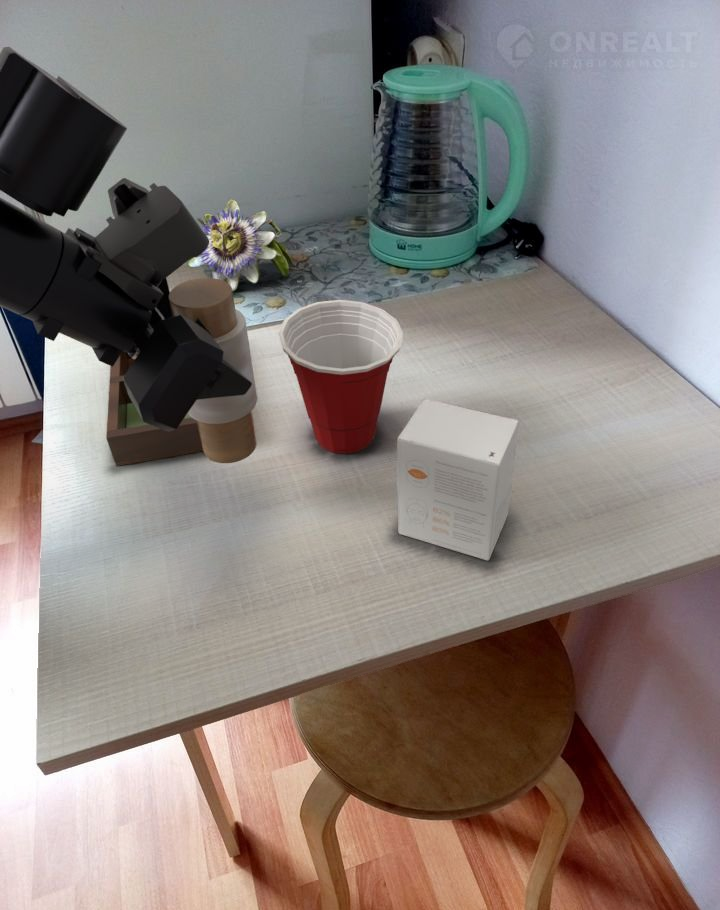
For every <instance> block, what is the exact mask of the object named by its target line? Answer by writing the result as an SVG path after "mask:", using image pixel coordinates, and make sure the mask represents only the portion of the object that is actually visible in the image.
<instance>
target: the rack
mask: <svg viewBox="0 0 720 910" xmlns="http://www.w3.org/2000/svg"><path fill="white" fill-rule="evenodd" d="M134 360H135V359H133V358H131V357H130V355H129V354H128V352H125V351H123V352H122V353H121V355H120V356H119V358H118V359H117V361H116V362H115V364H114V365H113V367H112V366H110V365H109V366H110V369H109V385H108V403H107V421H106V434H105V435H106V436H105V439H106V441H107V444H108V447H109V450H110V453H111V456H112V459H113V462H114V464H115V467H120V466H126V465H131V464H138V463H143V462H149V461H154V460H159V459H166V458H172V457H178V456H182V455H190V454H195V453H200V452H203V447H202V443H201V439H200V434H199V430H198V425H197V421H196V420H195V419H193V418H192V417H191V416H189V414H188V413H187V415H186V416H185V417H184V419H183V420H182V422H181V423H180V425H179V426H178V428H177V429H176V430H173V431H169V432H168V431H165V430H163V429H160V428H157V427H155V426H152V425H150V424H147V423H144V422H143V420H142V419H141V417H140V415H139V413H138V411H137V410H136V408H135V406H134V404H133V402H132V401H131V399H130V397H129V395H128V393H127V389H126V386H125V383H124V379H123V377H124V375H125V374H126V372H127V371H128V369H129V368H130V366H131V365H132V363H133V362H134Z"/></svg>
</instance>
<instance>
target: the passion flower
mask: <svg viewBox="0 0 720 910" xmlns="http://www.w3.org/2000/svg"><path fill="white" fill-rule="evenodd" d="M243 217H244V214H242V215H241V210H240V206H239V204H238V202H237V201H236V200H234V199H233V198H231V199H230V200H229V201H227V204H226V206H225V208H224V209H221V210H220V211H219V212H216V214H215V215H213V214H210V213H206V214H204V220H205V221H204V220H203V219H201V217H197V221H198V222H199V224H201V227H202V228H201V229H202V231H203V232H204V233H205V235H206V236H207V238H208V239H209V245H208V247H207V249H206V250H205V251H204V252H203V253H202V254H201V255H199V256H198V257H192V258H191V259H189V260H188V261H187V262H186V265H187V267H188V268H192V269H197V268H199V267H203V266H206V268H207V269H209V270H211V278H214V279H219V280H223V281H225V282H227V283H228V284H229V285H230V286H231V287H232V291H233V293H234V292H236V291H237V289H238V286H239V284H240V278H241V277H242V276H243V277H244V278H245V279H247V281H248V282H250V283H252V284H257V283H258V281H259V280H260V271H259V270H260V269H259V262H260V261H263V260H264V261H271V263H272V264H273V265H274V267H276V269H277V270H278V271H279V274H281V276H283V277H288V276H289V273H290V267H289V265H294V260H293V258H292V256H290V254H289V252H288V251H287V249H286V247H285V246H284V245H283V244H282V243H280V242H278V241H277V240H276V239H275V238H276V235H277V236H279V235H280V234H281V233H282V230H281V229H280V228H279V226H278V225H277V224H276V223H275V222H274V221H273V219H272V218H269V219H267V218H268V214H267V212H266V211H265V210H264V211H259V212H257V213H254V214H252V215H250V216H248V217H247V216H246V217H245V218H244V219H243ZM267 223H268V225H270V226H271V227H272V228H273V229H274V230H275V233H276V234H275V233H274V232H273V231H271V230H262V228H261V227H262V226H264V225H265V224H267ZM288 263H289V264H288Z"/></svg>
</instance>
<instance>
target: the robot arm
mask: <svg viewBox="0 0 720 910" xmlns="http://www.w3.org/2000/svg"><path fill="white" fill-rule="evenodd" d="M127 130H128V128H127V126H126V125H124V124H123V122H121V121H120V120H119V119H117V118H116V117H115V116H113V115H112V114H111V113H110V112H108V111H107V110H106V109H104V108H103V107H102V106H101V105H99V104H98V103H97V102H95V101H94V100H93V99H91V98H90V97H88V96H87V95H86V94H84V93H83V92H82V91H80V90H79V89H78V88H76V87H75V86H73V85H72V84H71V83H69V82H68V81H67V80H65V79H64V78H62V77H61V76H60V75H58V76H57V77H55V76H53V75H52V74H50V72H48V71H46V70H45V69H43V68H42V67H40V66H39V65H37V64H36V63H34V62H32V61H31V60H30V59H27V58H26V57H24V55H22V54H21V53H19V52H17V51H16V50H15V49H13V48H12V47H11V46H4V47H2V50H1V51H0V191H1V192H2V193H4V194H6V195H7V196H9V197H10V198H12V199H13V200H15V201H17V202H18V203H20V204H22V205H23V206H25V207H26V208H29V209H30V210H32V211H34V212H36V213H38V214H40V215H43V216H46V217H52V216H53V215H54V214H55V215H58V216H61V217H65V216H66V214H67V212H68V211H73V212H78V211H79V210H80V208H81V206H82V204H83V203H84V201H85V199H86V198H87V196H88V194H89V193H90V191H91V190H92V188H93V187H94V185H95V183H96V181H97V180H98V178H99V176H100V175H101V173H102V171H103V170H104V168H105V166H106V165H107V163H108V162H109V160H110V158H111V157H112V155H113V153H114V151H115V150H116V149H117V146H118V144H119V143H120V142H121V140H122V138H123V136H124V135H125V133H126V132H127ZM149 188H150V190H149V189H147V188H146V187H144V186H142V185H140V184H138V183H135V182H134V181H132V180H130V179H129V178H126V177H123V178H121V179H120V180H119V181H117V182H116V183H115V184H114V185H112V186H110V187H109V188H108V189H107V194H108V198H109V203H110V208H111V212H112V215H113V217H114V218H113V217H112V216H109V217H107V218H106V219H105V221H106V222H107V223H108V225H107V227H105V228H104V229H103V230H102V231H100V232H99V233H98V234H97V235H96V236H94V235H92V234H89V233H88V232H86V231H85V230H82V229H81V228H79V227H76V229H75V230H73V229H71V228H70V227H68V228H67V230H66V231H65V232H64V231H62V230H60V229H58V228H57V227H54V226H52V225H51V224H49V223H47V222H46V221H44V220H42V219H40V218H38V217H37V216H35V215H33V214H32V213H29V212H27V210H24V209H22V208H20V207H18V206H17V205H15V204H13V203H12V202H10V201H8V200H6V199H4V198H3V197H1V196H0V307H1V308H3V309H5V310H7V311H10V312H12V313H15V314H16V315H19V316H21V317H23V318H25V319H28V320H30V321H32V324H33V326H34V328H35V330H36V333H37V335H39V336H41V337H43V338H46V339H47V340H50V341H52V342H55V340H56V338H57V337H58V336H59V334H61V335H64V336H66V337H68V338H70V339H73V340H75V341H77V342H79V343H81V344H83V345H86V346H88V347H90V348H92V350H93V353H94V354H95V357H96V359H97V360H98V361H99V362H101V363H102V364H105V365H107V366H112V367H113V365H114V364H115V362H116V361H117V359H118V358H119V356H120V355H121V353H122V352H123V351H125V352H128V354H129V355H130V357H131V358H133V359H135V360H134V362H133V363H132V365H131V366H130V368H129V369H128V371H127V372H126V374H125V375H124V377H123V379H124V383H125V386H126V389H127V393H128V395H129V397H130V399H131V401H132V402H133V404H134V406H135V408H136V410H137V411H138V413H139V415H140V417H141V419H142V420H143V422H144V423H147V424H150V425H152V426H155V427H157V428H160V429H163V430H165V431H168V432H169V431H173V430H176V429H177V428H178V426H179V425H180V423H181V422H182V420H183V419H184V417H185V416H186V415H187V413H188V412H189V410H190V409H191V407H192V406H193V404H194V403H195V402H196V400H200V399H208V398H218V397H228V396H239V395H245V394H246V393H247V391H248V390H249V389H250V387H251V386H252V383H251V381H250V380H249V379H247V378H246V377H245V376H244V375H242V374H241V373H240V372H239V371H237V370H236V369H235V368H234V367H232V366H231V365H230V364H228V363H227V362H226V361H224V360H223V353H224V351H223V350H222V349H221V347H220V346H219V345H218V344H217V342H216V341H215V340H214V339H213V336H212V334H211V333H210V332H209V331H208V329H207V328H206V327H205V326H204V324H203V323H202V322H201V321H200V319H199V318H198V319H197V320H196V322H194V321H192V320H190V319H188V318H186V317H184V316H182V315H178V316H175V317H173V315H172V311H171V306H170V302H169V293H170V291H171V290H170V288H169V283H168V279H167V278H168V277H169V276H170V275H171V274H173V273H174V272H176V271H177V270H178V269H180V268H181V267H182V266H183V265H184V264H187V262H188V260H189V259H191V258H192V257H198V256H199V255H201V254H202V253H203V252H204V251H205V250H206V249H207V247H208V245H209V239H208V238H207V236H206V235H205V233H204V232H203V231H202V229H203V228H201V226H200V225H199V223H198V222H197V220H195V217H193V215H192V214H191V212H190V211H189V210H188V207H186V205H185V204H184V202H183V201H182V200H181V199H180V198H179V197H178V196H177V195H176V194H175V193H174V192H173V191H172V190H171V189H170V188H169V187H168V186H166V185H157V184H156V183H155V182H153V183H151V184H150V185H149Z"/></svg>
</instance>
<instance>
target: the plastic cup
mask: <svg viewBox="0 0 720 910" xmlns="http://www.w3.org/2000/svg"><path fill="white" fill-rule="evenodd" d="M278 337H279V341H280V345H281V348H282V351H283V353H285V354H286V355H287V358H288V359H289V361H290V364H291V367H292V369H293V372H294V374H295V376H296V381H297V383H298V386H299V390H300V393H301V397H302V399H303V403H304V407H305V411H306V413H307V416H308V419H309V421H310V423H311V426H312V430H313V434H314V437H315V439H316V440H317V443H318V445H320V446H321V447H322V448H323V450H325V451H328V452H331V453H334V454H342V455H347V454H354V453H357V452H360V451H362V450H364V449H366V448H368V446H369V445H371V444H372V442H373V440H374V437H375V435H376V431H377V426H378V420H379V416H380V412H381V407H382V404H383V398H384V393H385V388H386V383H387V379H388V373H389V371H390V367H391V364H392V363H393V360H394V357H395V356H396V355H397V354H398V353H399V352H400V350H401V347H402V342H403V339H404V338H403V337H404V332H403V329H402V327H401V326H400V323H399V322H398V319H396V318H395V317H393V316H392V315H391V314H390V313H388V312H387V311H385V310H384V309H383V308H380V307H377V306H375V305H372V304H370V303H366V302H363V301H357V300H356V301H355V300H346V299H334V300H324V301H317V302H314V303H311V304H308V305H305V306H303V307H299V308H297V309H296V310H294V311H293V312H292V313H291V314H290V315H288V316H287V317H286V318H284V319H283V321H282V324H281V325H280V328H279V330H278Z"/></svg>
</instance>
